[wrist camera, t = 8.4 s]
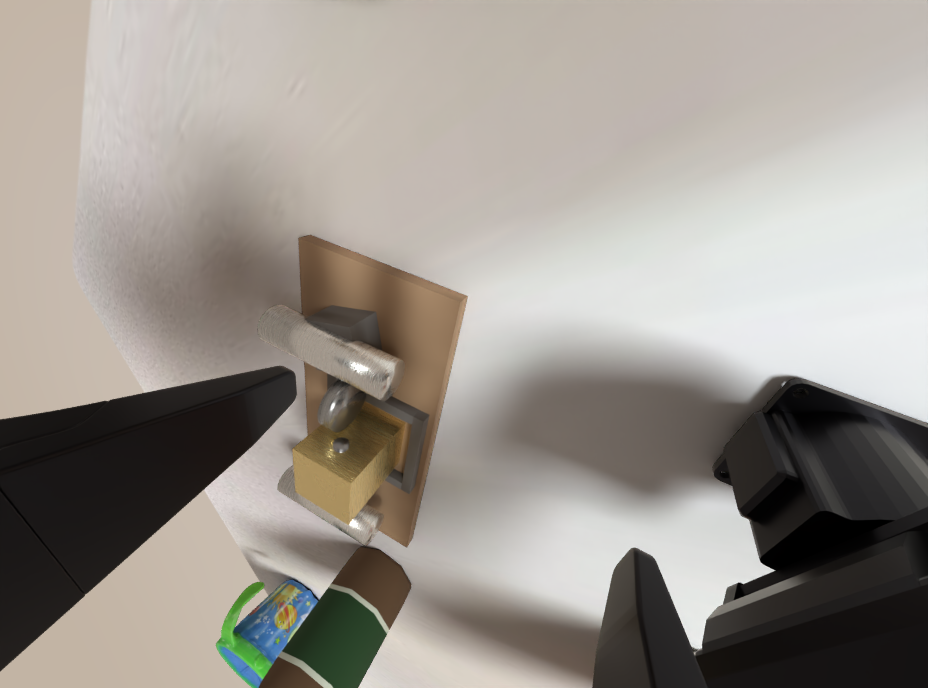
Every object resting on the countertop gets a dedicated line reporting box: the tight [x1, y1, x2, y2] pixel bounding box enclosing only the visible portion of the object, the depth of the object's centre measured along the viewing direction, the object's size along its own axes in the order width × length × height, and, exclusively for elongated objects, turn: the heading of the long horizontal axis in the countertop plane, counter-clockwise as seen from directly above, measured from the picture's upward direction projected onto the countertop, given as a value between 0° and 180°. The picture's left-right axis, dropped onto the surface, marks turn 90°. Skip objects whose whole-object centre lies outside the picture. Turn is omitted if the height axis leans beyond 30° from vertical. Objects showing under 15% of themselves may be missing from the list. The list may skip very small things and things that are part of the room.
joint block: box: [292, 401, 406, 525], centre depth 26 cm, size 5×4×6 cm
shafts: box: [258, 305, 405, 546], centre depth 27 cm, size 9×18×4 cm, turn 167°
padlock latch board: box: [299, 235, 468, 547], centre depth 28 cm, size 12×26×4 cm, turn 167°
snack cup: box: [216, 580, 318, 688], centre depth 51 cm, size 16×10×10 cm
